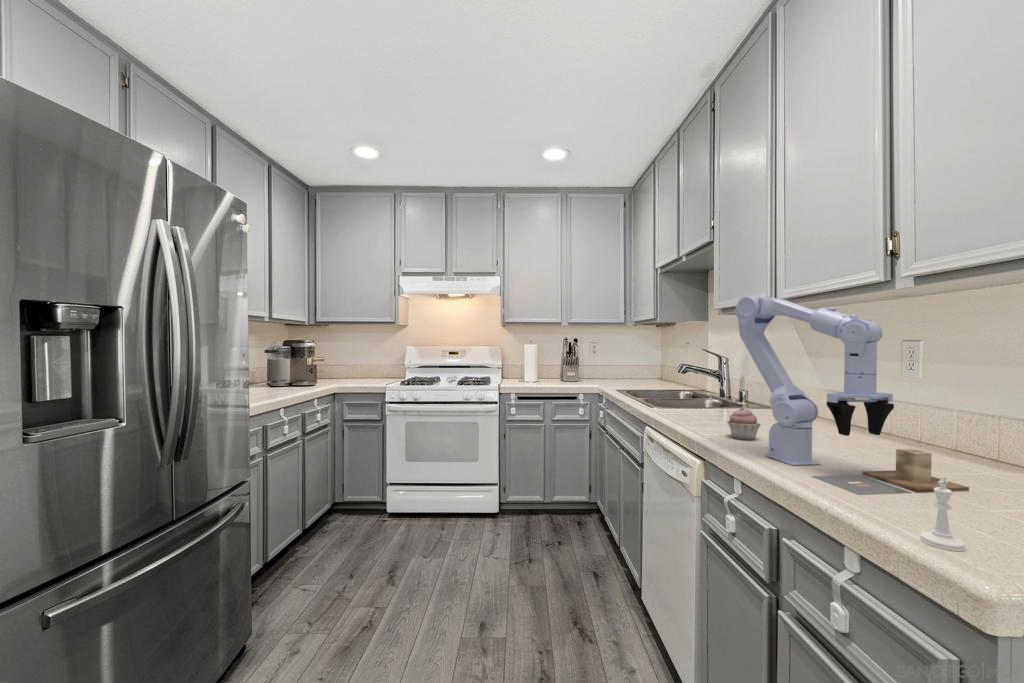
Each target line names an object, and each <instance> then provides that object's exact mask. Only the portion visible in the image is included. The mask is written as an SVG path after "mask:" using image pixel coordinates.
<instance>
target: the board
mask: <svg viewBox="0 0 1024 683" xmlns="http://www.w3.org/2000/svg"><path fill="white" fill-rule="evenodd" d="M862 476H864V477H867V478H870V479H873V480H876V481H879V482H882V483H885V484H888V485H891V486H894V487H897V488H900V489H903V490H906V491H909V492H912V493H916V494H922V493H925V494H926V493H935V492H934V488H937V487H940V485H939V484H938V481H940V477H939V478H938V477H935V476H933V475H931V482H912V481H909V480H906V479H902V478H899V477H896V469H895V470H869V471H868V470H867V471H866V470H865V471H864V470H863V471H862ZM947 481H948V484H946V488H947V489H949V490H951V491H952V493H953V492H969V491H970V487H969V486H966V485H963V484H959V483H956V482H952V481H949V480H947Z"/></svg>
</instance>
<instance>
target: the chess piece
mask: <svg viewBox="0 0 1024 683" xmlns="http://www.w3.org/2000/svg"><path fill="white" fill-rule="evenodd" d="M939 479H940V481H938V484H939V485H940V487H937V488H934V492H933V493H935V494H934V495H935V497H936V499H937V502H933V503H932V506H933V507H934V508H935V507H936V508H937V509H938V510H937V516H936V521H935V525H934V528H933V529H931V531H923V532H921V533H920V537H919V539H920V541H921V542H923V543H924V544H926V545H929V546H931V547H934V548H938V549H941V550H947V551H953V552H962V551H963V552H964V551H965V550H966V549H967V548H966V547H965V546H966V544H965V542H964V541H963V540H961V539H960V538H958V537H955V536H954V534H953V533H952V532H951V529H950V522H949V517H948V515H949V514H948V510H949V511H950V510H953V506H952V505H951V504H949V503H948V502H949V500H950V498H951V496H952V494H953V492H952V491H951V490H949V489H947V488H946V484H948V481H949V480H946V479H947V477H946V476H942V475H941V476H940V477H939Z"/></svg>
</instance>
